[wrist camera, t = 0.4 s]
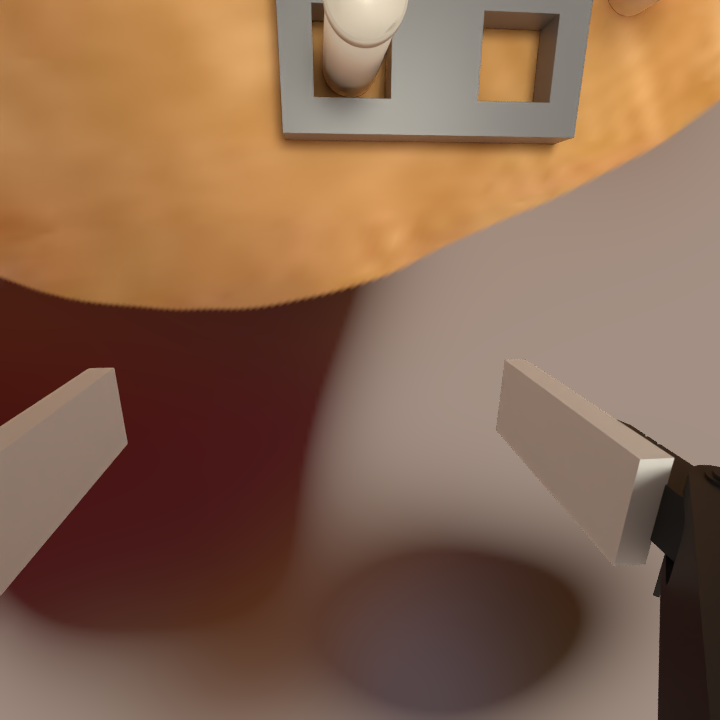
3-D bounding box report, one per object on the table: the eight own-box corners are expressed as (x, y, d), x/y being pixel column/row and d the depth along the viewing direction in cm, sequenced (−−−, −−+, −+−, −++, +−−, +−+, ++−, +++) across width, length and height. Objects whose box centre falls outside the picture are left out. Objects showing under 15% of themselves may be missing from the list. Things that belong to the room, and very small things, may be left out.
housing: (271, -140, 31) (261, -222, 25) (587, -116, 33) (644, -186, 27) (285, 139, 36) (280, 124, 30) (554, 143, 38) (596, 130, 33)
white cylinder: (319, 30, 34) (321, -66, 23) (378, 32, 34) (410, -60, 23) (321, 98, 35) (324, 41, 24) (378, 100, 36) (407, 44, 25)
